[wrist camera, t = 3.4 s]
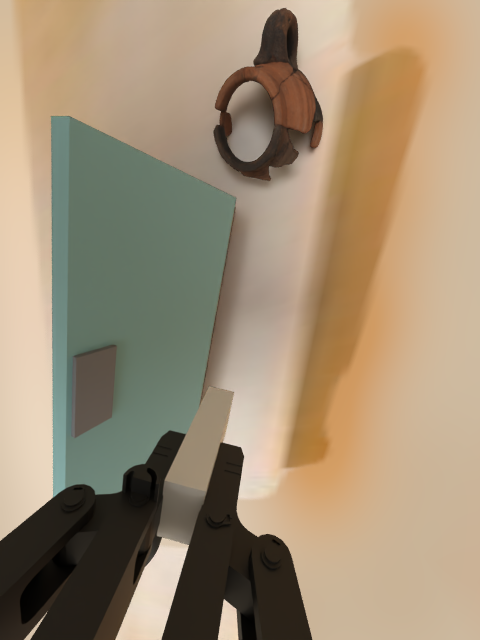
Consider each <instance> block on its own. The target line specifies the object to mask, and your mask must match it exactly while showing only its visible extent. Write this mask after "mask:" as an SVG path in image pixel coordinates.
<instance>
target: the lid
mask: <svg viewBox="0 0 480 640" xmlns="http://www.w3.org/2000/svg"><path fill="white" fill-rule="evenodd" d="M51 152H52V349H53V497H54V496H56V495H57V494H58V493H59V492H61V491H62V490H64V489H66V488H67V487H70V486H73V485H76V484H85V485H88V486H91V487H92V488H93V489H94V490H95V495H97V494H112V493H117V492H120V491H122V485H123V474H124V473H125V472H126V471H127V470H128V469H130V468H131V467H133V466H135V465H140V464H145V463H146V461H147V460H148V458H149V456H150V455H151V454H152V451H153V450H154V448H155V446H156V445H157V443H158V441H159V440H160V438H161V436H163V435H164V434H165V433H167V432H168V431H169V430H171V431H175V432H179V433H183V434H187V432H188V430H189V428H190V425H191V423H192V421H193V419H194V417H195V415H196V413H197V411H198V409H199V404H200V399H201V393H202V388H203V382H204V376H205V371H206V365H207V359H208V354H209V348H210V343H211V337H212V331H213V326H214V320H215V314H216V309H217V303H218V298H219V292H220V286H221V281H222V275H223V270H224V264H225V258H226V253H227V247H228V241H229V236H230V230H231V225H232V219H233V213H234V208H235V202H236V198H235V197H233V196H231V195H229V194H227V193H225V192H223V191H221V190H219V189H217V188H215V187H213V186H211V185H209V184H207V183H205V182H203V181H201V180H199V179H196V178H194V177H192V176H190V175H188V174H186V173H184V172H182V171H180V170H178V169H176V168H174V167H172V166H170V165H168V164H166V163H164V162H162V161H160V160H158V159H156V158H154V157H152V156H150V155H148V154H146V153H143V152H141V151H139V150H137V149H135V148H133V147H131V146H129V145H127V144H125V143H123V142H121V141H119V140H117V139H115V138H113V137H111V136H109V135H107V134H105V133H103V132H101V131H99V130H97V129H95V128H92V127H90V126H88V125H86V124H84V123H82V122H80V121H78V120H76V119H74V118H72V117H70V116H51Z"/></svg>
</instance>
